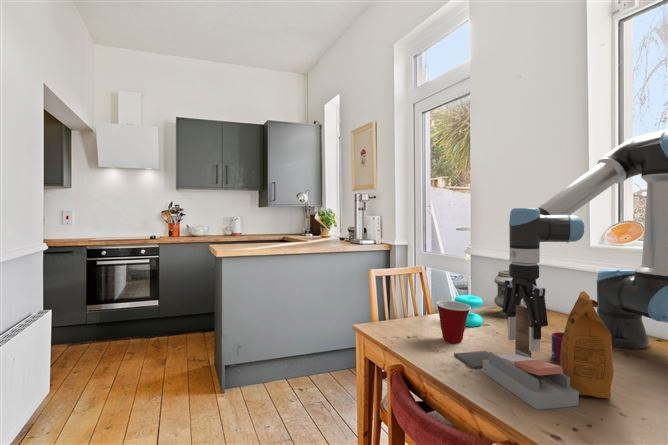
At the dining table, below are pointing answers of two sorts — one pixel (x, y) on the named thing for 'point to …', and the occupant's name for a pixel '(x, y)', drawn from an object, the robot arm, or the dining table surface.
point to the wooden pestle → (522, 329)
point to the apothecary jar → (502, 290)
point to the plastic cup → (452, 320)
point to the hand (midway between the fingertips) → (523, 344)
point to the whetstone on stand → (532, 384)
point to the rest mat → (473, 358)
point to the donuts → (473, 302)
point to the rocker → (532, 365)
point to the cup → (556, 345)
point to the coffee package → (587, 350)
